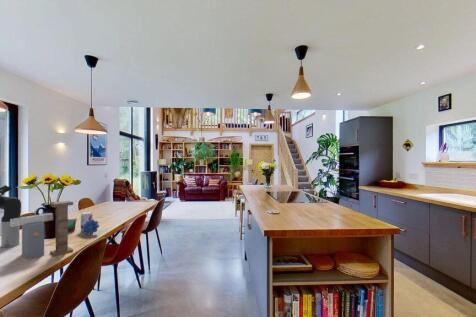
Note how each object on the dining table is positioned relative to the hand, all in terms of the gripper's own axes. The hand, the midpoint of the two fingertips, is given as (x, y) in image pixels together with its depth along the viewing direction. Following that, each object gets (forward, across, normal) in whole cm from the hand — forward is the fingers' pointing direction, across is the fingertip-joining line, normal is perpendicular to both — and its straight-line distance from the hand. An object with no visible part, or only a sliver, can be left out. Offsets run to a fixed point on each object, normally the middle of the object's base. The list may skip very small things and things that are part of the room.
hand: (9, 186), depth 147 cm
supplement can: (+24, -24, -64) cm, 72 cm away
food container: (+15, -36, -59) cm, 70 cm away
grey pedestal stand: (-2, +14, -48) cm, 50 cm away
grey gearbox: (-12, +4, -42) cm, 44 cm away
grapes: (+22, -11, -63) cm, 67 cm away
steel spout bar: (-3, +4, -25) cm, 25 cm away
